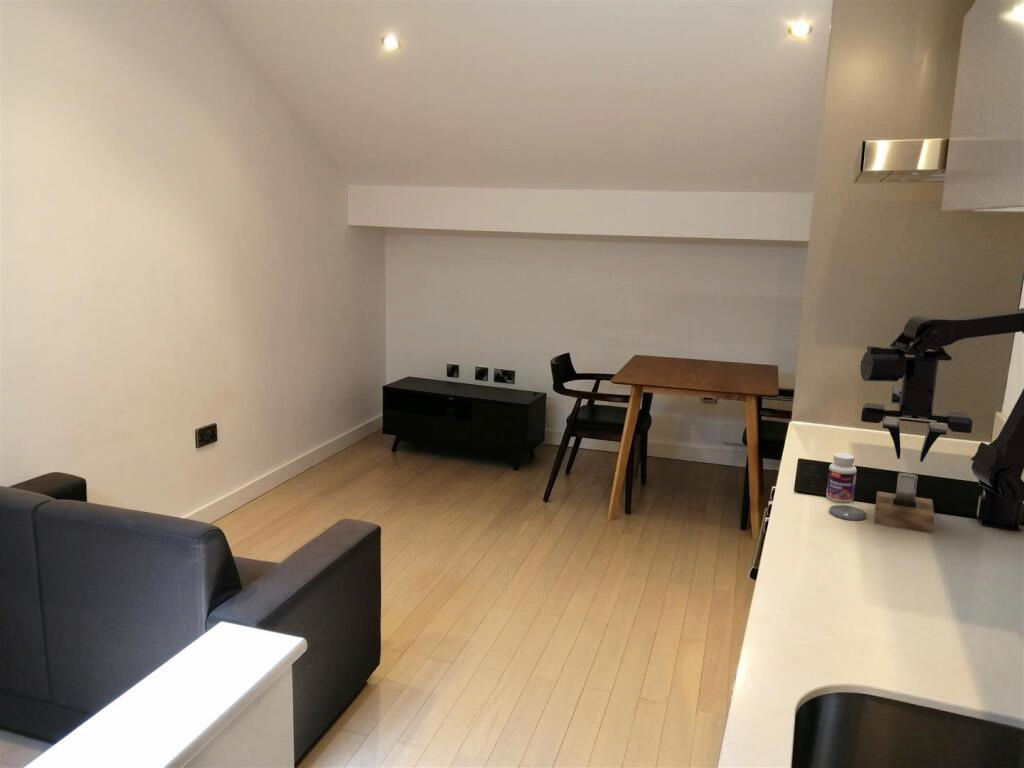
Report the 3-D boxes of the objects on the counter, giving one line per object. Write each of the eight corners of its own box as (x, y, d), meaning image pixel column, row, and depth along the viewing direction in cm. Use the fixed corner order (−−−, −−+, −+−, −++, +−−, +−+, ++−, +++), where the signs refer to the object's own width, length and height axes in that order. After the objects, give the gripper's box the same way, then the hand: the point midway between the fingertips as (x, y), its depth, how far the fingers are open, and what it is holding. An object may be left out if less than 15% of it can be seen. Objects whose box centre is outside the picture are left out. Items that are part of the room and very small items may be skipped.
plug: (913, 502, 147) (917, 474, 146) (914, 508, 144) (917, 479, 143) (894, 499, 149) (898, 471, 147) (894, 505, 146) (898, 476, 144)
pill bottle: (824, 500, 157) (829, 457, 155) (827, 492, 162) (831, 450, 160) (852, 504, 155) (857, 460, 153) (854, 497, 160) (858, 454, 158)
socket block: (930, 515, 149) (932, 499, 148) (932, 533, 140) (934, 515, 140) (875, 507, 154) (877, 491, 153) (874, 523, 145) (876, 506, 144)
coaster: (867, 511, 151) (867, 508, 151) (865, 523, 145) (866, 520, 145) (830, 505, 154) (830, 502, 154) (827, 516, 148) (827, 514, 148)
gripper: (971, 379, 144) (961, 455, 147) (866, 371, 153) (859, 443, 156) (977, 390, 135) (966, 471, 138) (865, 380, 143) (857, 457, 146)
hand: (909, 459), depth 145 cm, fingers open, 4 cm apart
